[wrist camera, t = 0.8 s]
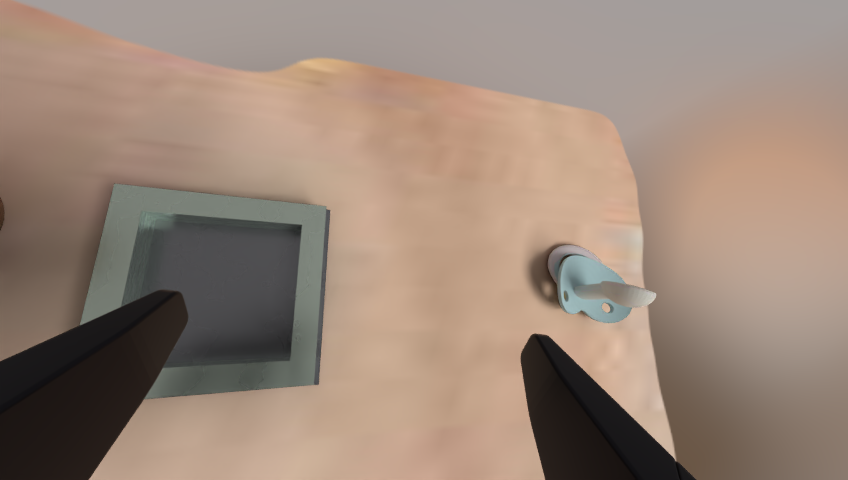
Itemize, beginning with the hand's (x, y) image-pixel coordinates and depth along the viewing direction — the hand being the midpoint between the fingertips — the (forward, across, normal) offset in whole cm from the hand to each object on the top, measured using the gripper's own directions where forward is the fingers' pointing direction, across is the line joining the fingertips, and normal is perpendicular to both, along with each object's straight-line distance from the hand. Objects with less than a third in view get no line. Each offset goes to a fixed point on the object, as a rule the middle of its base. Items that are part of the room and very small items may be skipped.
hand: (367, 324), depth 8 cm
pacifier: (+14, -16, +8) cm, 23 cm away
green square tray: (+7, +8, +7) cm, 12 cm away
